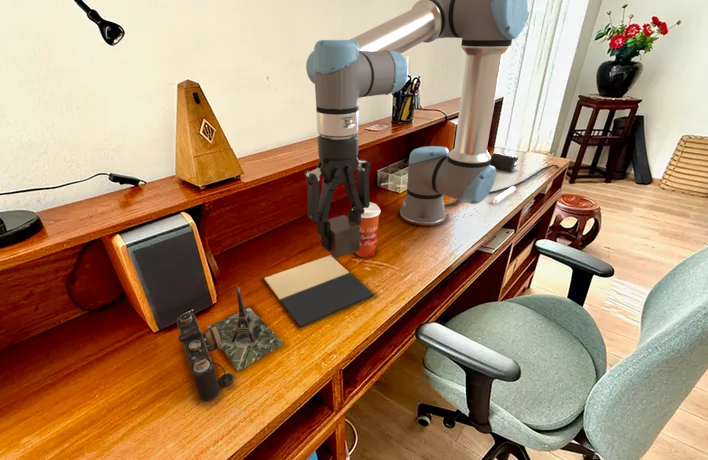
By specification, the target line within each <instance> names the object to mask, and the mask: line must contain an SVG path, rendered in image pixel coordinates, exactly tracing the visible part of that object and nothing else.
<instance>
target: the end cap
mask: <svg viewBox="0 0 708 460" xmlns="http://www.w3.org/2000/svg"><path fill="white" fill-rule="evenodd" d="M490 156H491V160H490V166H493V167H494V168H495V169H496V170H500V171H504V172H508V173H513V172H514V171H516V167H517V164H518V163H516V162H517V161H518V160H519V157H518V156H516V155H506V154H505V153H503V152H499V153H496V152H494V153H492V155H490Z"/></svg>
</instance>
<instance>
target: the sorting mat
mask: <svg viewBox="0 0 708 460" xmlns="http://www.w3.org/2000/svg"><path fill="white" fill-rule="evenodd" d="M263 279H264V281H265V283H266V284H267V285H268V286H269V288H270V289H271V291H272V292H273V294H274V295H275V296H276V297H277V299H278V300H279V302H280V303H281V304H282V306H283V307H284V308H285V310H286V311H287V312H288V313H289V315H290V316H291V318H292V319H293V320H294V322H295V323H296V324H297V326H298V327H299V328H300V329H301V328H304V327H305V326H307V325H310V324H312V323H315V322H317V321H319V320H321V319H323V318H326V317H328V316H330V315H333V314H335V313H337V312H339V311H342V310H344V309H346V308H348V307H351V306H354V305H356V304H359V303H360V302H362V301H365V300H367V299H370V298H371V297H374V292H372V291H371V290H370V289H368V288H367V287H366V286H365V285H364V284H363V283H362V282H361V281H360V280H359V279H357V278H356V277H355V276H354V275H353V274H352V273H351V272H350V271H348V269H346V268H345V267H344V266H343V265H342V264H341V263H339V261H338V260H336V259H335V258H334V257H333V256H332V255H331V254H329V255H326V256H323V257H321V258H318V259H315V260H312V261H309V262H306V263H304V264H300V265H297V266H295V267H292V268H289V269H286V270H283V271H280V272H276V273H274V274H271V275H268V276H266V277H264V278H263Z"/></svg>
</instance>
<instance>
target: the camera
mask: <svg viewBox="0 0 708 460" xmlns="http://www.w3.org/2000/svg"><path fill="white" fill-rule="evenodd" d="M176 325H177V328H178V332H179V335H178V336H177V339H178V342H179V343H182V346H183V349H184V353H185V356H186V359H187V362H188V365H189V369H190V372H191V374H192V378H193V381H194V384H195V387H196V390H197V394H198V398H199V399H200V401H201V402H205V403H206V402H211V401H213V400H215V399H216V398H218V396H219V395H220V392H221V389H220V386H221V387H222V388H227V387H229V386H231V385H232V384H233V383H234V379H235V378H234V375H233V374H232V373H230V372H229V373H226V370H225V367H223V366H222V365H221V364H220V363H219V364H218V363H216V362H214V361H213V360H212V358H211V355H210V353H211V352H213V351H216V350H217V351H221V350H223V349H222V340H221V336H219V335H220V333H219V331H217V329H216V327H213V328H211V330H210V331H208V330H207V331H205V332H202V330H201V327H200V325H199V322H198V319H197V317H196V315H195V314H194V313H193V312H185V313H182V314H181V315H178V317H177V318H176ZM214 365H217V366H219V367H220V368H221V369H222V370H223V373H224V374H222V375H221V376H219V378H218V379H217V375H216V368H215V366H214Z"/></svg>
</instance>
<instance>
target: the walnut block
mask: <svg viewBox="0 0 708 460" xmlns="http://www.w3.org/2000/svg"><path fill="white" fill-rule="evenodd" d="M327 220H328V221H329V222H330V227H331V250H330V251H327V250H326V249H325V248H324V247H323V246H322V240H321V239H320V241H321V243H320V244H321V247H322V248H323V249H324V250H325V251H326V252H327V253H328V254H329V255H331V256H332V257H333V258H334V259H335V260H336V259H339V258H342V257H345V256H347V255H351V254H353V253H356V251H359V250H360V226H359V225H358V224H357V223H355V222H354V221H352V220H351V219H349V218H348V216H346V215H345V214H343V215H340V216H336V217H332V218H329V219H327Z"/></svg>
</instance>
